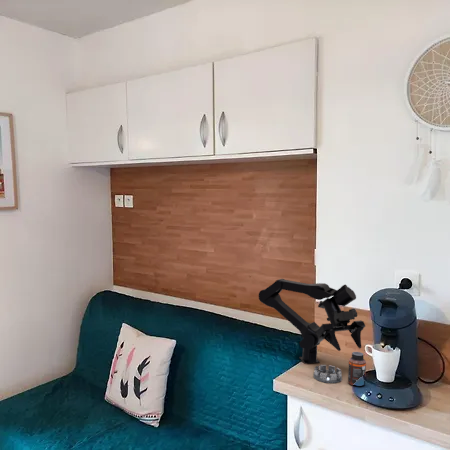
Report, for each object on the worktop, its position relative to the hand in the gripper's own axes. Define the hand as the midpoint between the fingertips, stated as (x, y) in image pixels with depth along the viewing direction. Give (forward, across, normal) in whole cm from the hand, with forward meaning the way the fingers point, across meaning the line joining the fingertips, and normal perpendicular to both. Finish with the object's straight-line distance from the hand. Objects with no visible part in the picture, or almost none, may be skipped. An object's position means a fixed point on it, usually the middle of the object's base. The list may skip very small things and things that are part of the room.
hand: (350, 349), depth 168 cm
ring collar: (+6, -7, +10) cm, 14 cm away
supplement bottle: (+12, 0, +5) cm, 12 cm away
